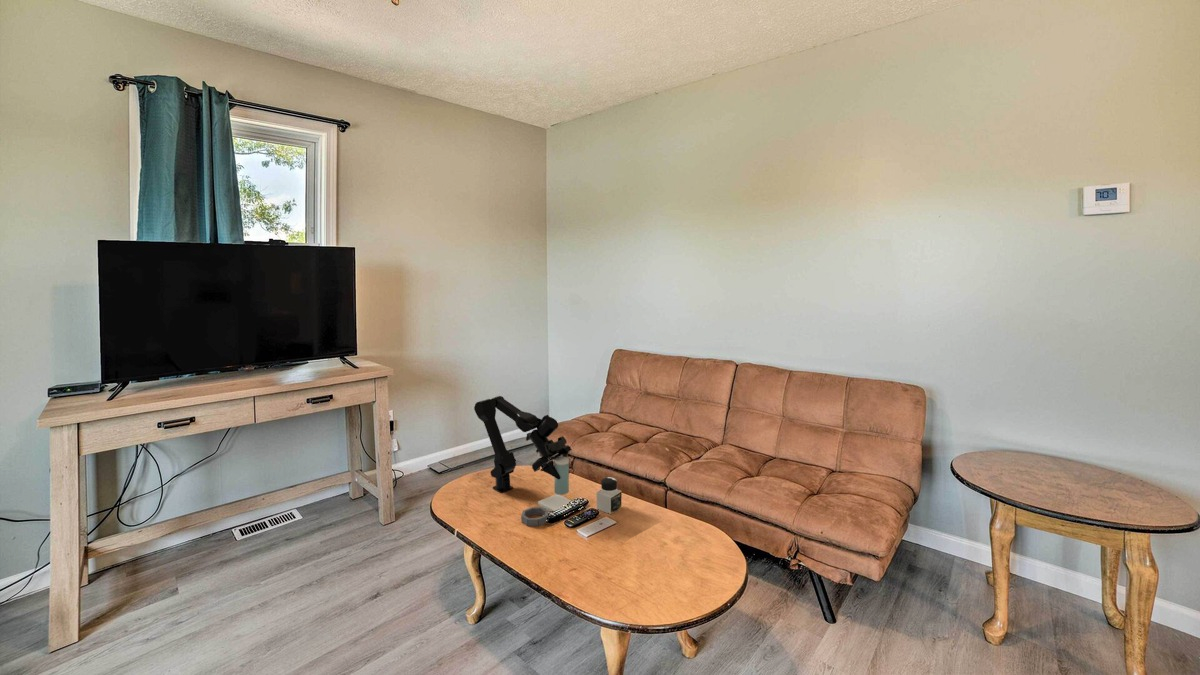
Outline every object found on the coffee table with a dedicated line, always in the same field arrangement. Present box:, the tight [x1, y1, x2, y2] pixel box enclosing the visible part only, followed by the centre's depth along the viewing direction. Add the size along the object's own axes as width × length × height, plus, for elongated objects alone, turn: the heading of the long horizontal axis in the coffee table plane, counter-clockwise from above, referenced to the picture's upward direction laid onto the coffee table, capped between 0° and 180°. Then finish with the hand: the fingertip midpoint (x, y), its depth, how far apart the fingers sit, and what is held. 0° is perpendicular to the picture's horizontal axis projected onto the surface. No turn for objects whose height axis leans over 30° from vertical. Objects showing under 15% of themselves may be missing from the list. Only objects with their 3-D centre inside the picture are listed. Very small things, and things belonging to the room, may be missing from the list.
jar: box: [553, 456, 570, 496], centre depth 189 cm, size 6×6×13 cm
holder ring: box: [521, 506, 549, 527], centre depth 181 cm, size 10×10×2 cm
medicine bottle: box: [596, 476, 623, 515], centre depth 189 cm, size 7×7×12 cm
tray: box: [537, 493, 584, 516], centre depth 191 cm, size 16×10×1 cm, turn 44°
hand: (564, 476), depth 188 cm, fingers closed on jar, 5 cm apart
